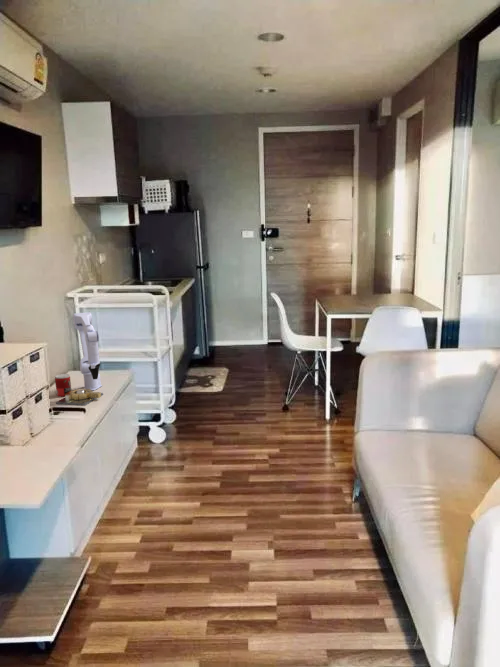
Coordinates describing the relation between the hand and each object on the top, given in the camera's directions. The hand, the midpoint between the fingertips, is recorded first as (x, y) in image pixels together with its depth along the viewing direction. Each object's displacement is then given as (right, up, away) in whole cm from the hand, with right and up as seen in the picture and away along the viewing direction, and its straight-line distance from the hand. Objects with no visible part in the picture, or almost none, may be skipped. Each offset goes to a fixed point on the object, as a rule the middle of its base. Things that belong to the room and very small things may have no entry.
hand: (95, 378), depth 274 cm
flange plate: (-7, -11, -2) cm, 13 cm away
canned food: (-19, -10, +6) cm, 22 cm away
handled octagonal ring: (-4, -10, -3) cm, 11 cm away
